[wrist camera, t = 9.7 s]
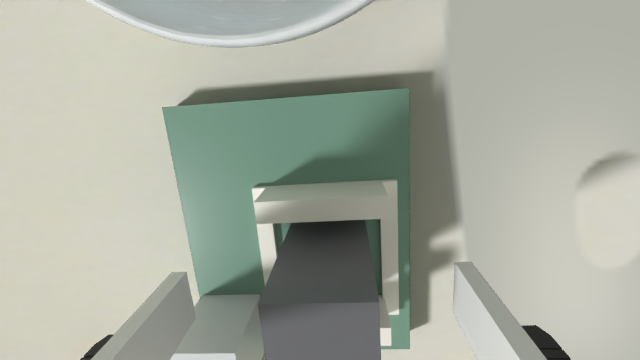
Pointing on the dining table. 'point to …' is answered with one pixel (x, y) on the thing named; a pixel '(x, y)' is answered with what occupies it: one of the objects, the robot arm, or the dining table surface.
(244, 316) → the plug
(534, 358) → the robot arm
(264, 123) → the board
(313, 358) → the plug
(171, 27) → the serving bowl
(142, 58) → the dining table surface
